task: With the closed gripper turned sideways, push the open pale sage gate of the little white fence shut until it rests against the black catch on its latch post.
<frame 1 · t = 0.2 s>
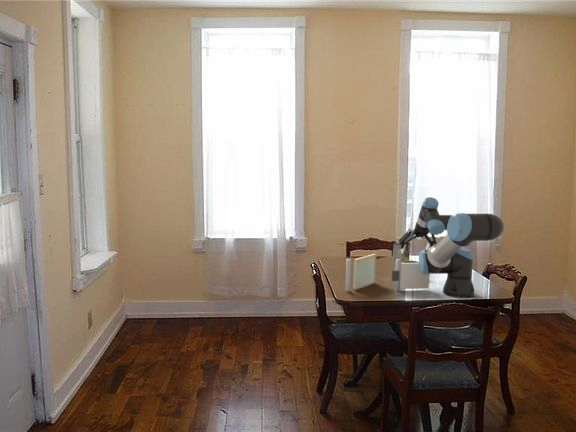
hand: (414, 252, 311), 15 cm above the table, tool tilted 35°, fingers open, 13 cm apart
coffee box: (400, 269, 339), on the table
gate: (365, 270, 296), point 8 cm above the table, hinge at 45.0°
plant pot: (410, 277, 319), on the table
fence: (375, 290, 289), on the table
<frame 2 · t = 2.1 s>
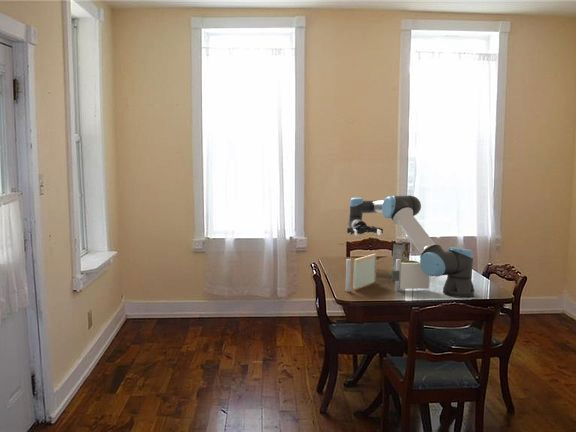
hand: (368, 233, 313), 25 cm above the table, tool horizontal, fingers open, 13 cm apart
nothing on the table moved.
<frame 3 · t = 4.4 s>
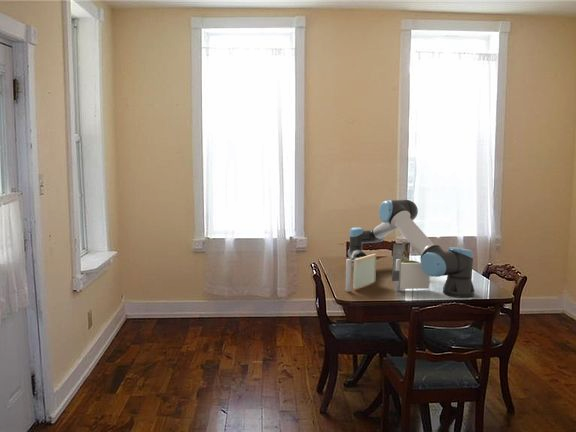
hand: (370, 266, 308), 8 cm above the table, tool horizontal, fingers closed
nothing on the table moved.
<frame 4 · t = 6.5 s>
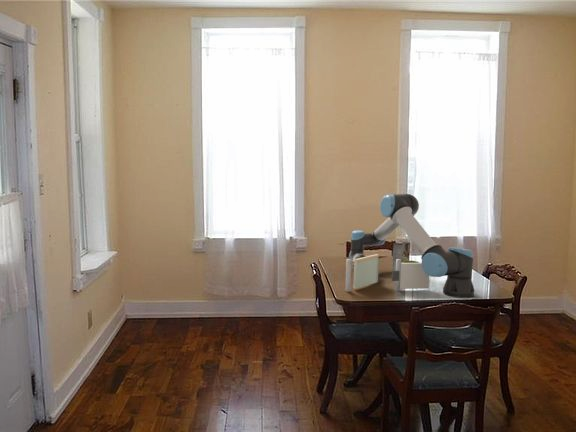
hand: (371, 270, 302), 7 cm above the table, tool horizontal, fingers closed
gate: (366, 271, 295), point 8 cm above the table, hinge at 40.9°, touching gripper
everything else where it was.
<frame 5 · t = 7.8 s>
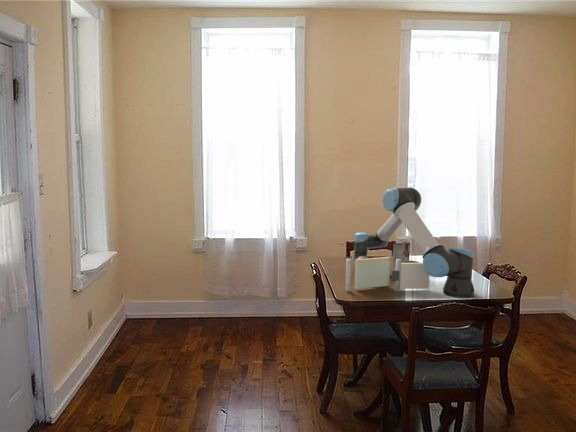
hand: (376, 273, 294), 7 cm above the table, tool horizontal, fingers closed
gate: (372, 272, 292), point 8 cm above the table, hinge at 18.3°, touching gripper
everything else where it was.
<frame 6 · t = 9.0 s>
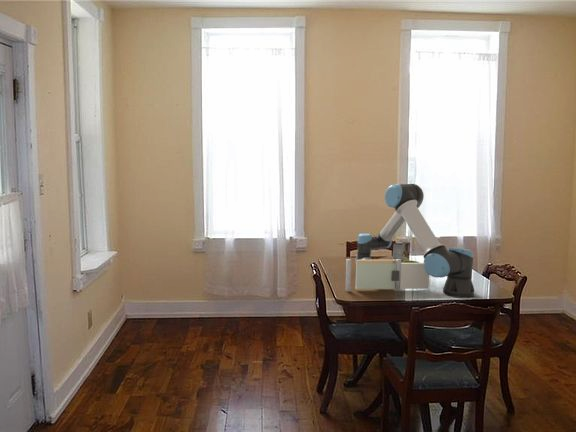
hand: (380, 276, 290), 7 cm above the table, tool horizontal, fingers closed, pressing on gate
gate: (375, 274, 288), point 8 cm above the table, hinge at -0.6°, touching gripper
everything else where it was.
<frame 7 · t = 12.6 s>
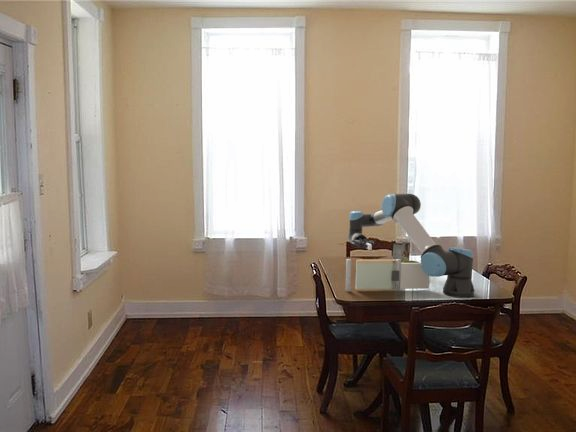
hand: (370, 247, 307), 18 cm above the table, tool horizontal, fingers closed
gate: (375, 274, 288), point 8 cm above the table, hinge at -0.4°
everything else where it was.
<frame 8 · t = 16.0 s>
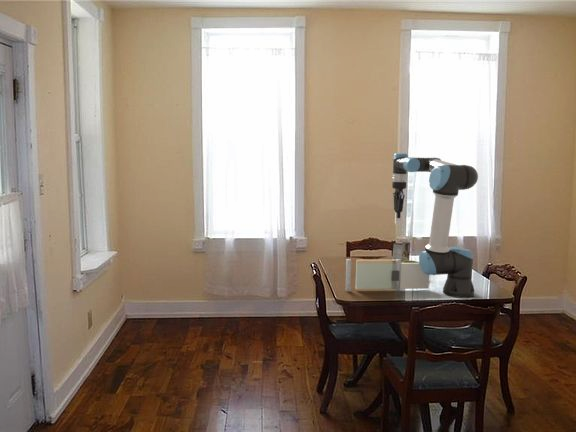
hand: (397, 223, 320), 29 cm above the table, tool pointing down, fingers closed
nothing on the table moved.
at the end: gate at +0° (first picture: +45°); coffee box moved 0.2 cm from its start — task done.
